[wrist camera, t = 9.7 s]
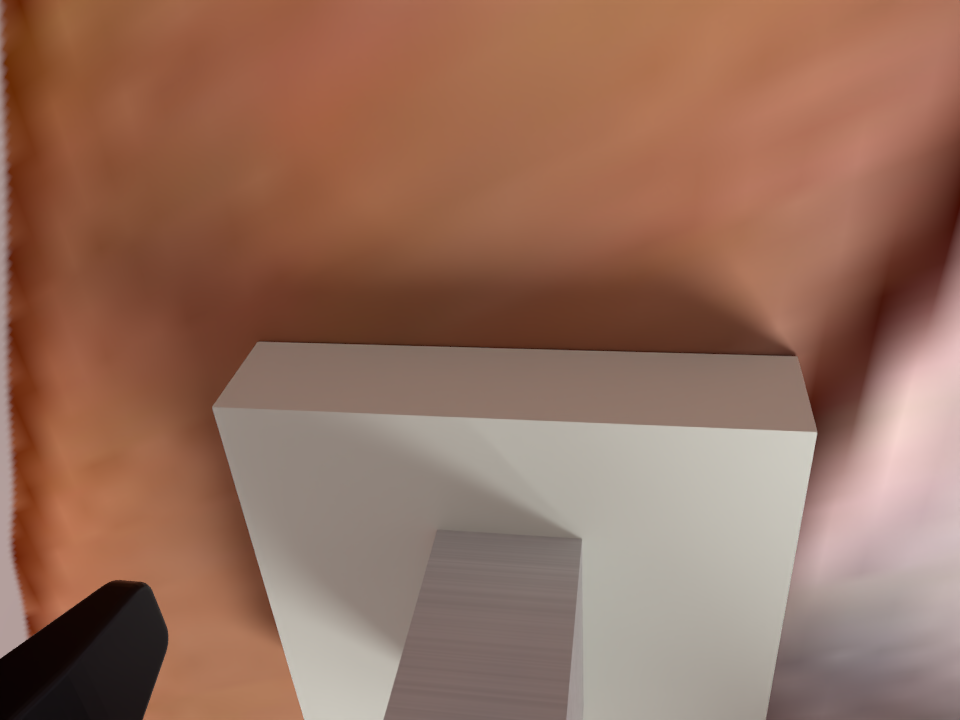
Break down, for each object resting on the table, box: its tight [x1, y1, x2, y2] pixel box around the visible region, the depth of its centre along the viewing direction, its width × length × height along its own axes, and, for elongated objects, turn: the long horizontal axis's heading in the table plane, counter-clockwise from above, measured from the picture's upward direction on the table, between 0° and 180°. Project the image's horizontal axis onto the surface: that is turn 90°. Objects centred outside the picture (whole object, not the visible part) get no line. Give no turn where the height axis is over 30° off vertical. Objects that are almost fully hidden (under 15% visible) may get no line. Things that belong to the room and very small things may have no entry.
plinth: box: [212, 342, 817, 720], centre depth 25 cm, size 14×14×3 cm
